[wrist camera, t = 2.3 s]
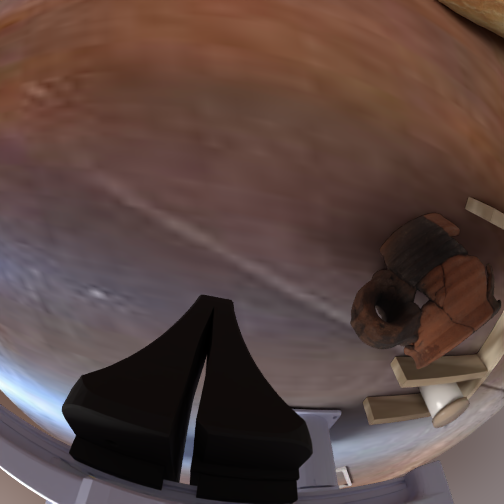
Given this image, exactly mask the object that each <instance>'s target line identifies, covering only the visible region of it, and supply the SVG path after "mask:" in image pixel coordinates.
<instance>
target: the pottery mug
mask: <svg viewBox="0 0 504 504" xmlns="http://www.w3.org/2000/svg"><path fill="white" fill-rule="evenodd" d="M458 235H459V229H458V227H457V226H456V225H454V224H453V223H452V222H450V221H449V220H447V219H445V218H444V217H443V216H442V215H440V214H437V213H429V214H427V215H424V216H420V217H418V218H416V219H414V220H412V221H409V222H408V223H406V224H405V225H404V226H402V227H400V228H399V229H398V230H397V231H395V232H394V233H393V234H392V235H391V236H390V238H388V239H387V240H386V241H385V243H384V244H383V245H382V246H381V248H380V252H381V254H382V256H383V257H384V259H385V260H384V261H385V263H386V265H387V270H379V271H377V272H376V273H375V274H374V275H373V277H372V280H371V281H369V282H368V283H366V284H365V285H364V286H363V287H362V288H361V289H360V290H359V291H358V293H357V294H356V297H355V300H354V302H353V305H352V310H351V322H350V324H351V326H352V327H353V329H354V330H355V332H356V334H357V335H358V337H359V338H360V339H361V340H362V341H363V342H364V343H365V344H367V345H369V346H371V347H374V348H378V349H388V348H392V347H394V346H396V345H401V346H405V348H404V354H406V355H409V356H411V357H413V359H414V361H415V363H416V368H417V369H420V368H423V367H426V366H428V365H429V364H431V363H432V362H434V361H436V360H437V359H439V358H440V357H442V356H443V355H445V354H446V353H447V352H449V351H450V350H452V349H453V348H454V347H456V346H457V345H459V344H460V343H461V342H463V341H464V340H465V339H467V338H468V337H469V336H470V335H472V334H473V333H474V332H475V331H477V330H478V329H479V328H480V327H481V326H483V325H484V324H485V323H486V322H488V321H489V320H490V319H491V318H493V316H494V315H496V313H497V312H498V311H499V309H500V308H501V301H500V300H498V301H496V299H495V298H494V296H493V294H494V276H493V269H492V267H491V265H490V264H487V266H486V270H487V275H488V278H487V285H486V274H485V268H484V265H483V264H482V263H481V262H480V260H479V259H478V258H477V257H475V256H468V252H467V251H466V250H465V249H464V247H463V246H462V245H461V244H459V243H458V242H457V241H456V240H455V239H454V238H452V236H458ZM417 290H419V291H421V292H422V293H423V294H425V295H426V296H427V297H428V298H429V299H430V300H429V301H428V302H427V303H426V304H424V305H423V307H422V308H421V309H420V308H419V306H418V305H417V304H415V303H414V298H415V294H416V291H417ZM375 306H376V308H377V310H378V312H379V314H380V315H381V316H382V319H381V318H380V317H379V316H378V315H377V313H376V310H375Z"/></svg>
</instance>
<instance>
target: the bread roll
mask: <svg viewBox="0 0 504 504" xmlns="http://www.w3.org/2000/svg"><path fill="white" fill-rule="evenodd" d="M438 1H439V2H441V3H443V4H444V5H446V6H447V7H449V8H450V9H451V10H453V11H454V12H456V13H458V14H459V15H461V16H463V17H465V18H467V19H469V20H470V21H472V22H474V23H476V24H477V25H479V26H481V27H484V28H486V29H488V30H490V31H492V32H494V33H495V34H497V35H499V36H501V37H502V38H504V0H438Z"/></svg>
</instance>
